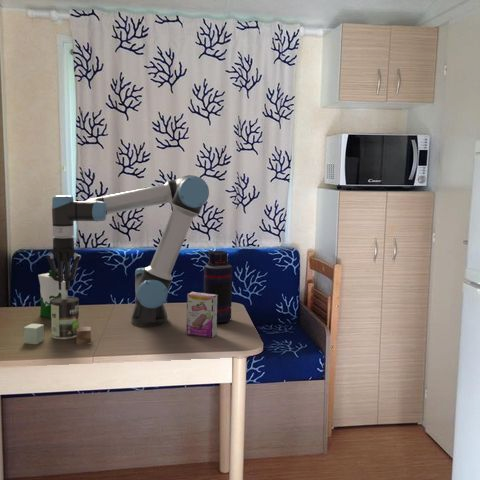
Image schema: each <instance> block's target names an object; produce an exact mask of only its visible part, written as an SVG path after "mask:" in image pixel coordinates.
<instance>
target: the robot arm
mask: <svg viewBox="0 0 480 480" xmlns="http://www.w3.org/2000/svg"><path fill="white" fill-rule="evenodd" d="M209 196H210V189H209V186H208V184H207V182H206V181H205V180H204V179H203V178H202V177H200V176H196V175H190V174H189V175H184V176H182V177H179V178H176V179H171V180H167V181H166V182H165V183H164V184H160V185H155V186H148V187H145V188H143V187H142V188H139V189H135V190H129V191H124V192H120V193H119V192H118V193H114V194H108V195H104V196H98V197H91V198H87V199H85V200H84V201H83V200H78V201H77V200H74V197H73V195H66V194H63V195H62V194H59V195H58V194H57V195H54V196H53V197H52V200H51V204H52V205H51V218H52V221H51V222H52V236H53V238H52V250H51V253H49V254H46V256H45V258H46V259H47V261H48V264H49V268H50V270H51V272H52V276H53V279H54V280H57V281H58V282H59V290H61V299H66V298H67V297H69V296H68V291H69V290H70V289H71V281H73V280H75V279H76V275H77V270H78V266H79V261H80V260H81V258H82V255H81V254H78V253H76V249H75V238H74V236H75V231H74V230H75V229H74V227H75V226H74V225H75V224H74V222H95V223H96V222H105V221H106V220H107V216H108V215H112V214H117V213H123V212H128V211H133V210H138V209H143V208H148V207H152V206H158V205H163V204H168V203H169V204H170V205H171V206H172V212H171V213H170V216H169V218H168V221H167V224H166V225H165V228H164V231H163V233H162V235H161V238H160V241H159V243H158V245H157V248H156V250H155V253H154V254H153V257H152V260H151V262H150V265H148V266H146V267H139V268H136V269H135V271H134V273H135V274H134V279H135V281H134V282H135V283H134V286H135V290H134V292H135V298H134V301H135V302H134V307H133V310H132V313H131V316H130V317H131V318H130V319H131V321H130V323H131V324H132V325H134V326H139V327H145V328H146V327H158V326H162V325H165V324H166V323H168V320H169V319H168V314H167V310H166V307H165V303H166V301H167V300H168V294H169V293H168V292H169V288H170V286H171V283H172V280H173V276H172V271H173V269H174V266H175V264H176V261H177V259H178V257H179V254H180V252H181V249H182V247H183V244H184V242H185V239H186V237H187V234H188V232H189V230H190V227H191V224H192V223H193V221H194V218H195V217H198V216H199V215H200V213H201V210H202V209H203V205H205V203H207V201H208V199H209ZM54 258H55V259H56V261H57V265H56V263H55V259H54ZM72 259H73V263H72V267H71V260H72ZM57 270H58V273H57ZM63 274H64V279H63Z"/></svg>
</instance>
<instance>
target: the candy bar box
mask: <svg viewBox="0 0 480 480" xmlns="http://www.w3.org/2000/svg"><path fill="white" fill-rule="evenodd" d="M217 325H218V322H217V295H214V294H206V293H204V292H196V291H191V292H189V293H187V295H186V329H185V330H186V334H185V335H190V336H197V337H201V338H202V337H203V338H210V339H212V338H213V339H214V338H215V336H216V335H217V333H218V332H217V331H218V330H217V327H218V326H217Z"/></svg>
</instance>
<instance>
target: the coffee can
mask: <svg viewBox="0 0 480 480" xmlns="http://www.w3.org/2000/svg"><path fill="white" fill-rule="evenodd" d="M79 301H80V299H79V297H77V296H68V297H67V298H66V299H61V297H57V298H54V299H51V318H50V319H51V338H53V339H56V340H70V339H75V338H77V333H76V331H77V327H80V308H79V307H80V302H79Z"/></svg>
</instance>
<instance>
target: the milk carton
mask: <svg viewBox="0 0 480 480" xmlns="http://www.w3.org/2000/svg"><path fill="white" fill-rule="evenodd" d="M57 273H58V269H57ZM37 277H38V281H39V286H40V287H39V289H40V290H39V291H40V314H39V315H40V316H42V317H44V318H47V319H51V299H54V298H57V297H61V290H59V282H58V281H57V280H54V279H53V276H52V272H51V269H50V270H48V272H46V273H41V274H38V275H37ZM63 279H64V280H65V273H63Z"/></svg>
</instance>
